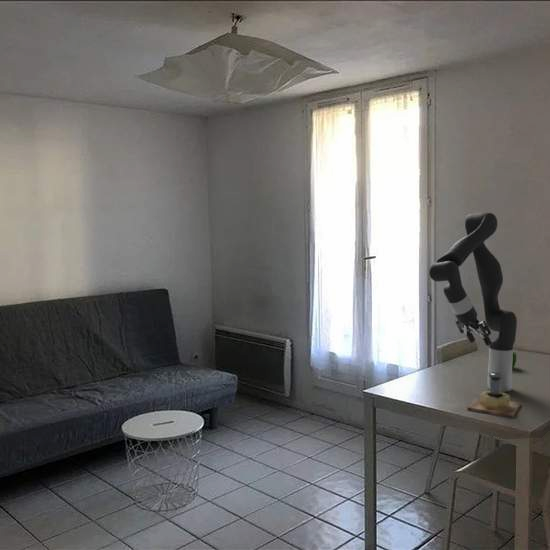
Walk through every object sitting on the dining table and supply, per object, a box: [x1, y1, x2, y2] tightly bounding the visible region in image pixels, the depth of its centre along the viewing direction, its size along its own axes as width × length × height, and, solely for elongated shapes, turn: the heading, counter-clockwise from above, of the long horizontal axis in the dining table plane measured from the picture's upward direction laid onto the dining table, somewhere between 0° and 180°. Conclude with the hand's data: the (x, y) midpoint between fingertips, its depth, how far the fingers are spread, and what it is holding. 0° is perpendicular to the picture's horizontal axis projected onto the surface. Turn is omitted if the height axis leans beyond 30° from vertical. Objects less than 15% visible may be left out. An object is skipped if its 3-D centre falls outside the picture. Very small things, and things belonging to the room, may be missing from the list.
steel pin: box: [489, 372, 502, 397], centre depth 223 cm, size 5×5×12 cm
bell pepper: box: [512, 351, 517, 370], centre depth 279 cm, size 8×8×10 cm
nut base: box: [467, 390, 522, 419], centre depth 224 cm, size 16×16×5 cm
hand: (480, 342), depth 226 cm, fingers open, 8 cm apart
